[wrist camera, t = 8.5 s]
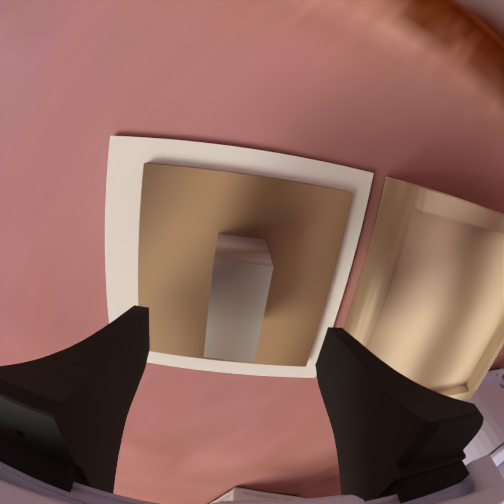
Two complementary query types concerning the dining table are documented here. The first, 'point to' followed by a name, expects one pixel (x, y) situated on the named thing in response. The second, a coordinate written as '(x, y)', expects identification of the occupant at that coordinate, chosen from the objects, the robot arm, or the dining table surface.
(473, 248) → the case
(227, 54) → the dining table surface
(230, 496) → the tea box
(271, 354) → the lid
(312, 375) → the mat
